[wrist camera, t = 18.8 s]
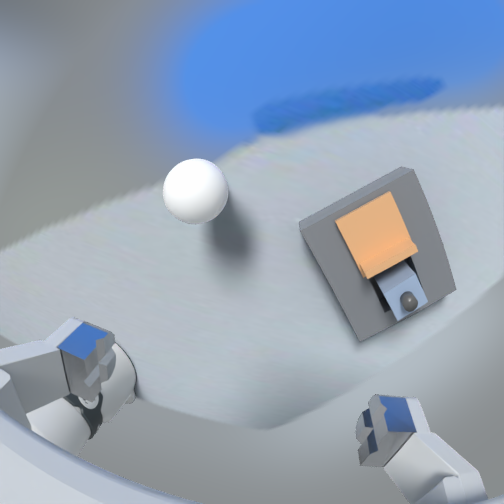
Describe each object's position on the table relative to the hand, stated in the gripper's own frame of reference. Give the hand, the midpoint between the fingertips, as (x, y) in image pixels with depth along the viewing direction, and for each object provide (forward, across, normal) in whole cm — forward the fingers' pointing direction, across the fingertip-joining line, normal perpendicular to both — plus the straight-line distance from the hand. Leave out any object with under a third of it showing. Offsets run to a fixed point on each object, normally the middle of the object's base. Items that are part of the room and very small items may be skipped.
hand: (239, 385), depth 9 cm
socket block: (+29, -13, +3) cm, 32 cm away
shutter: (+25, -11, 0) cm, 27 cm away
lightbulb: (+29, +8, -1) cm, 30 cm away
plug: (+29, -15, +5) cm, 33 cm away
